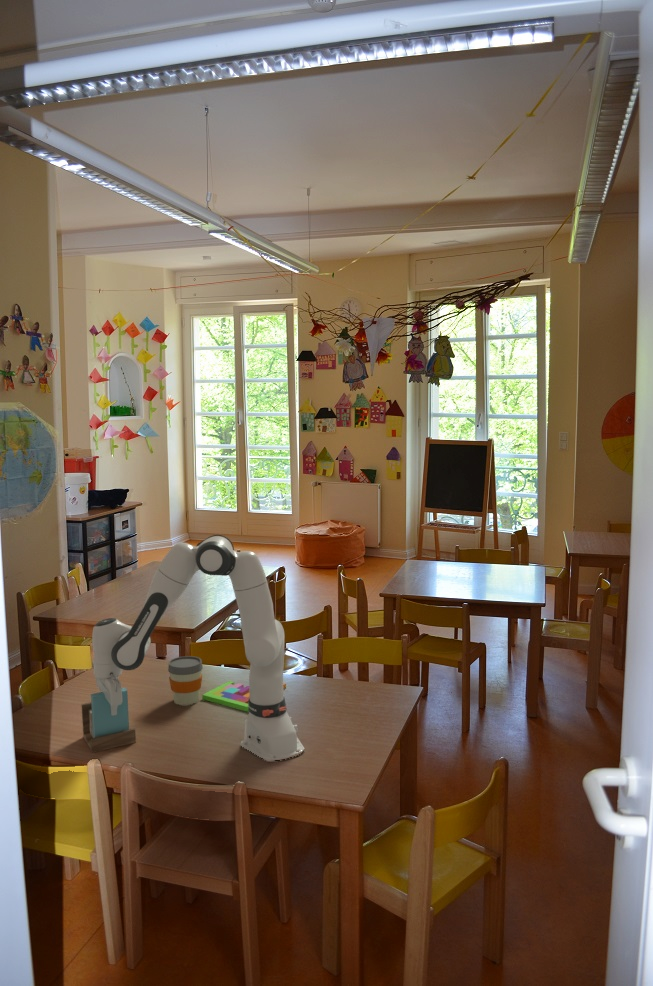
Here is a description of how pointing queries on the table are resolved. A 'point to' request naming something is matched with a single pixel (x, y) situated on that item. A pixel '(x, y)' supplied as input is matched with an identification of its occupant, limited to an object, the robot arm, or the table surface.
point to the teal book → (109, 715)
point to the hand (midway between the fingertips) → (110, 709)
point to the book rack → (106, 740)
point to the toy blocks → (231, 695)
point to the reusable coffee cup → (185, 679)
